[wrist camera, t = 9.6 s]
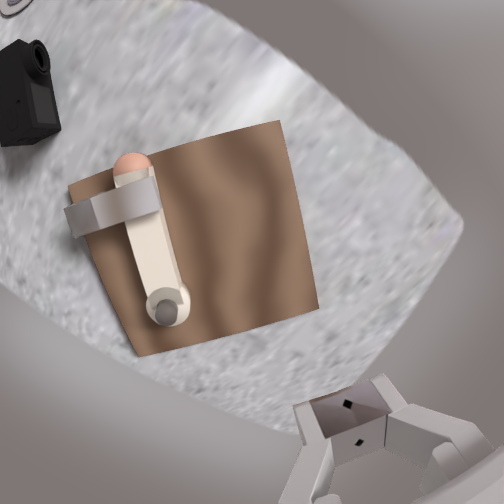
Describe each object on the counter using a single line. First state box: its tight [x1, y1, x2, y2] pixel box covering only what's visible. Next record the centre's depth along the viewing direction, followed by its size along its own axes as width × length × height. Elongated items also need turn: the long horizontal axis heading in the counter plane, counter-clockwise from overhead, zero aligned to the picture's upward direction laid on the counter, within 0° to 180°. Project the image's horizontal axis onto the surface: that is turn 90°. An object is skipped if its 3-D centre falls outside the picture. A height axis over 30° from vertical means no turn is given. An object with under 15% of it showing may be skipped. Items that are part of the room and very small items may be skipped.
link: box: [113, 153, 191, 326], centre depth 31 cm, size 18×5×2 cm, turn 10°
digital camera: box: [0, 39, 61, 147], centre depth 23 cm, size 10×5×7 cm, turn 14°
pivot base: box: [64, 120, 319, 357], centre depth 32 cm, size 23×22×6 cm
